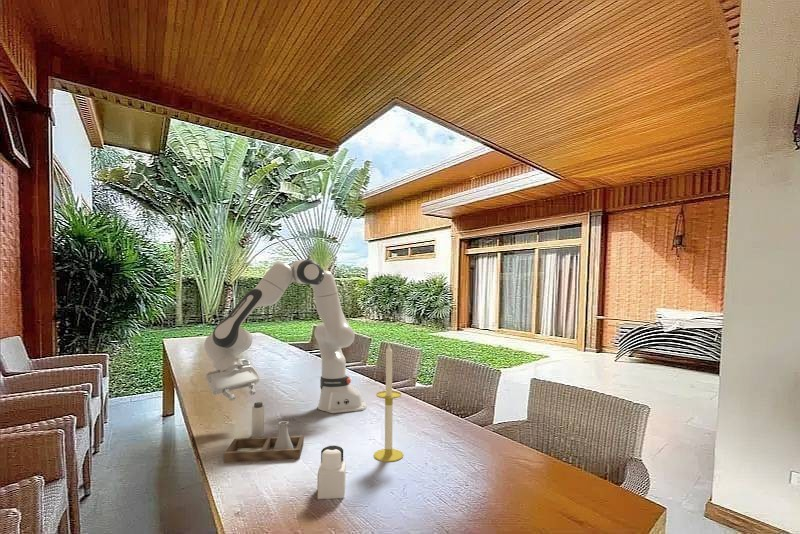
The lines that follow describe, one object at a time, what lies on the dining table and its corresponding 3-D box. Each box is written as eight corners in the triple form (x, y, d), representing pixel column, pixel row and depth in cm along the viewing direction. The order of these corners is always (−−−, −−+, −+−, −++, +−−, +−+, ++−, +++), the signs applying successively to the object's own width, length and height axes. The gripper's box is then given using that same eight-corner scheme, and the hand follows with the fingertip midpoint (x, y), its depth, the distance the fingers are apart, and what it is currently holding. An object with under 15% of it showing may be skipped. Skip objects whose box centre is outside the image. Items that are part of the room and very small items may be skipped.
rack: (303, 444, 146) (303, 435, 146) (299, 459, 134) (299, 449, 134) (234, 447, 143) (234, 438, 143) (224, 462, 131) (224, 453, 131)
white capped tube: (264, 433, 156) (265, 401, 156) (262, 438, 152) (263, 404, 152) (252, 434, 155) (253, 401, 156) (250, 438, 151) (250, 405, 152)
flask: (287, 457, 135) (288, 427, 135) (267, 455, 136) (268, 425, 137) (297, 449, 142) (297, 419, 142) (278, 447, 143) (278, 418, 144)
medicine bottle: (320, 486, 116) (320, 443, 116) (345, 485, 117) (345, 442, 117) (317, 499, 109) (317, 454, 109) (344, 498, 109) (344, 453, 110)
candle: (380, 464, 130) (381, 346, 132) (369, 452, 139) (370, 341, 141) (408, 458, 134) (408, 344, 136) (395, 447, 144) (396, 340, 145)
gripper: (207, 367, 154) (223, 398, 149) (252, 359, 171) (268, 386, 166) (200, 378, 156) (215, 408, 151) (245, 369, 174) (260, 395, 168)
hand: (243, 396), depth 158 cm, fingers open, 8 cm apart
